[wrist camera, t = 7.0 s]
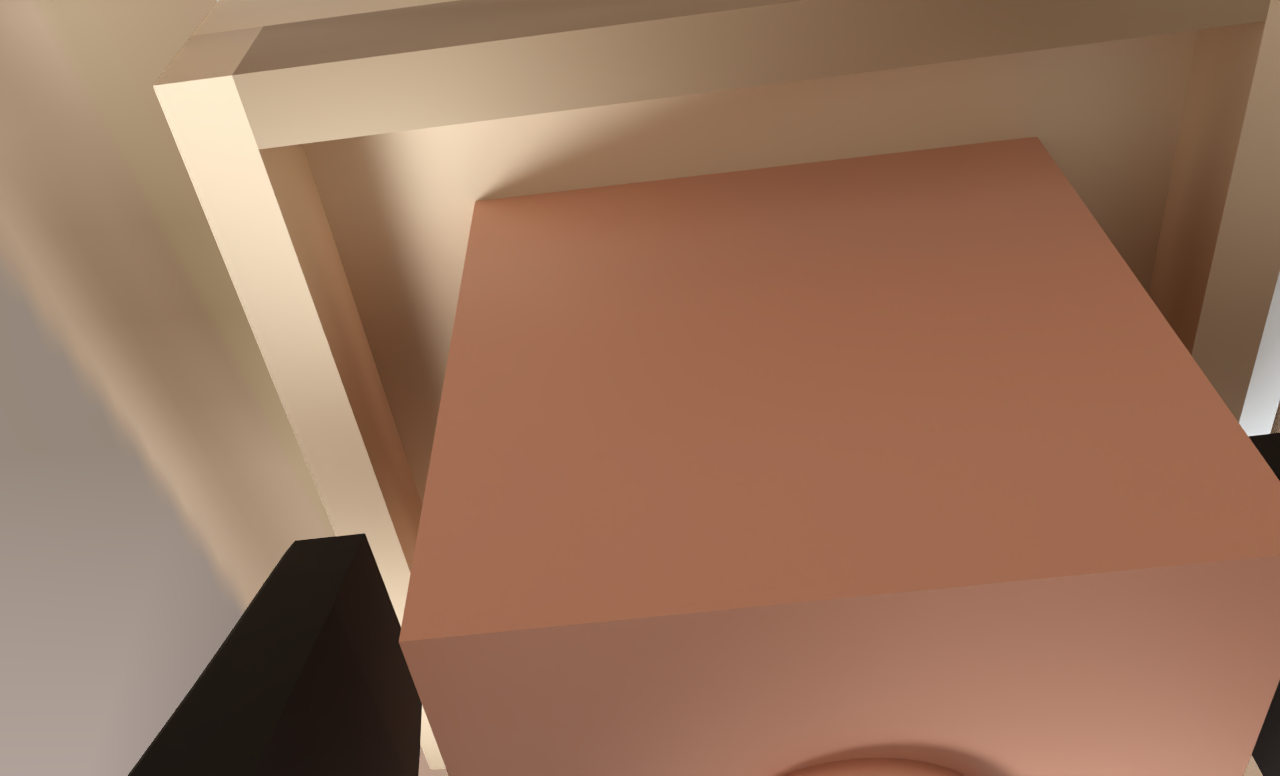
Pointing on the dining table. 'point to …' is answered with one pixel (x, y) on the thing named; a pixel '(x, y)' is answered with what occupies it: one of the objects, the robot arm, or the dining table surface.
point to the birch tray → (677, 164)
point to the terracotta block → (834, 489)
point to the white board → (1264, 376)
